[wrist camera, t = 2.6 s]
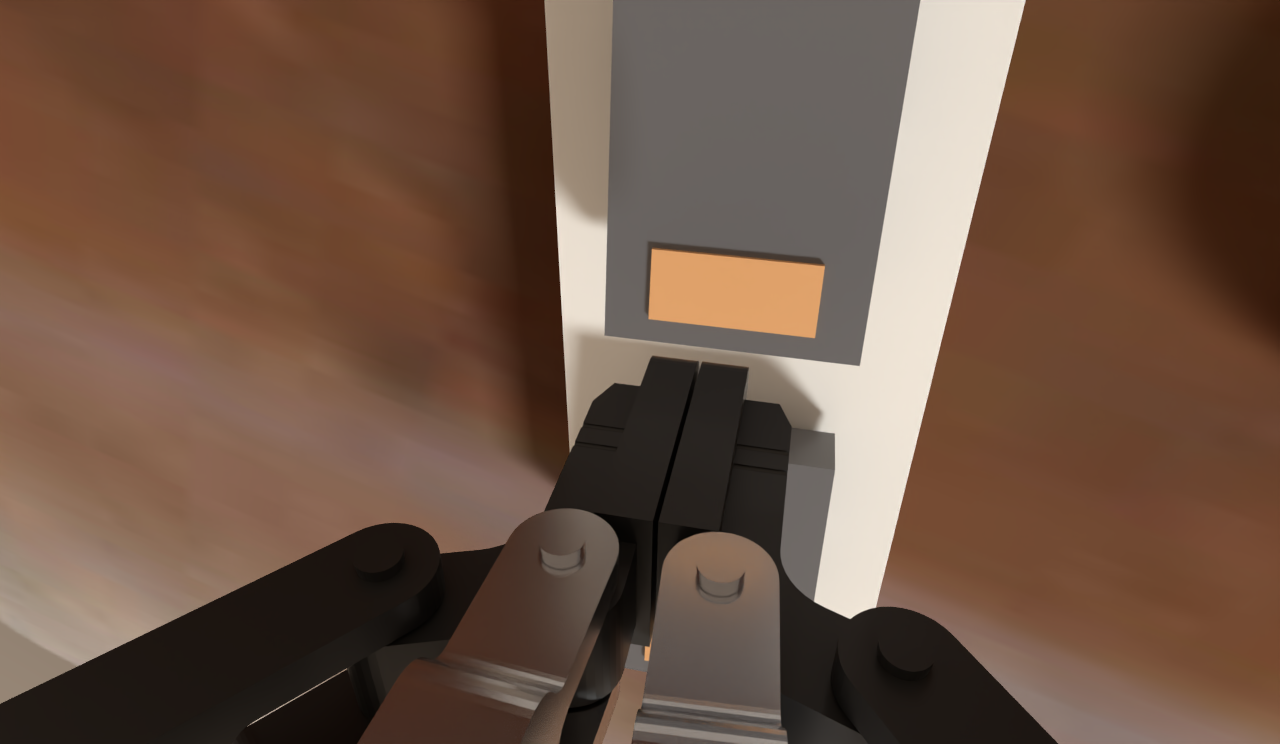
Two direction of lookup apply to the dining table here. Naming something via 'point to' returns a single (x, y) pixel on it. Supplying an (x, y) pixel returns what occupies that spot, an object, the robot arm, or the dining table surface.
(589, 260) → the power strip
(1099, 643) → the dining table surface
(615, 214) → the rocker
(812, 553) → the block
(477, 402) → the dining table surface
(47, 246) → the dining table surface
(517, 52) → the dining table surface
